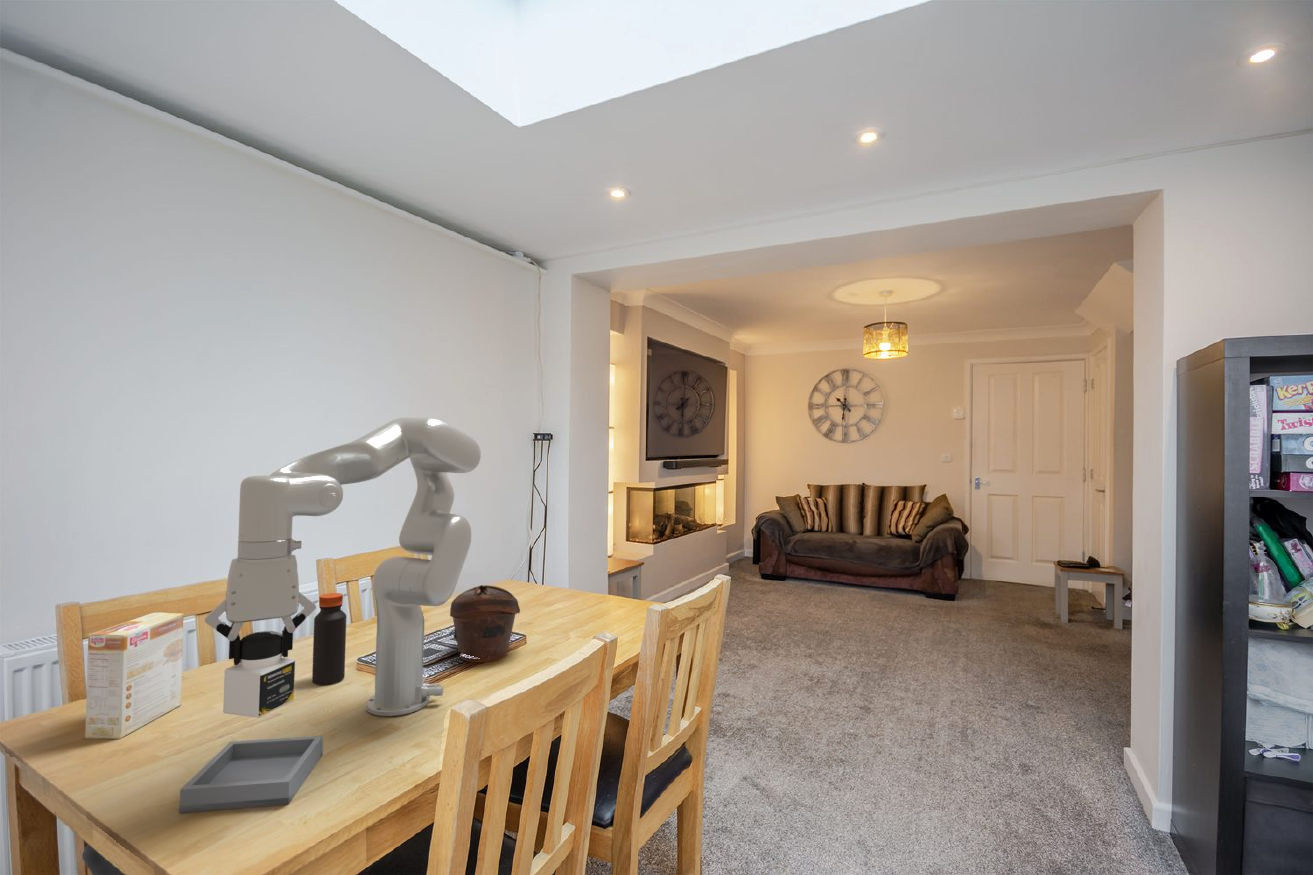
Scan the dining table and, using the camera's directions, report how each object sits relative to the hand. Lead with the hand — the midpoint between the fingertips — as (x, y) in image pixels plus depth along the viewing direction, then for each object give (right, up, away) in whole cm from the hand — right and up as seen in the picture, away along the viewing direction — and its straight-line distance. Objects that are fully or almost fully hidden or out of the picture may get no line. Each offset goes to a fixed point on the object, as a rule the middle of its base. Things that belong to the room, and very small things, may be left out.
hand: (261, 657), depth 100 cm
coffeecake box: (-38, -20, +20) cm, 47 cm away
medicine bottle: (0, -8, 0) cm, 8 cm away
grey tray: (0, -20, 0) cm, 20 cm away
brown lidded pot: (+19, -22, +63) cm, 69 cm away
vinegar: (-12, -21, +42) cm, 49 cm away
